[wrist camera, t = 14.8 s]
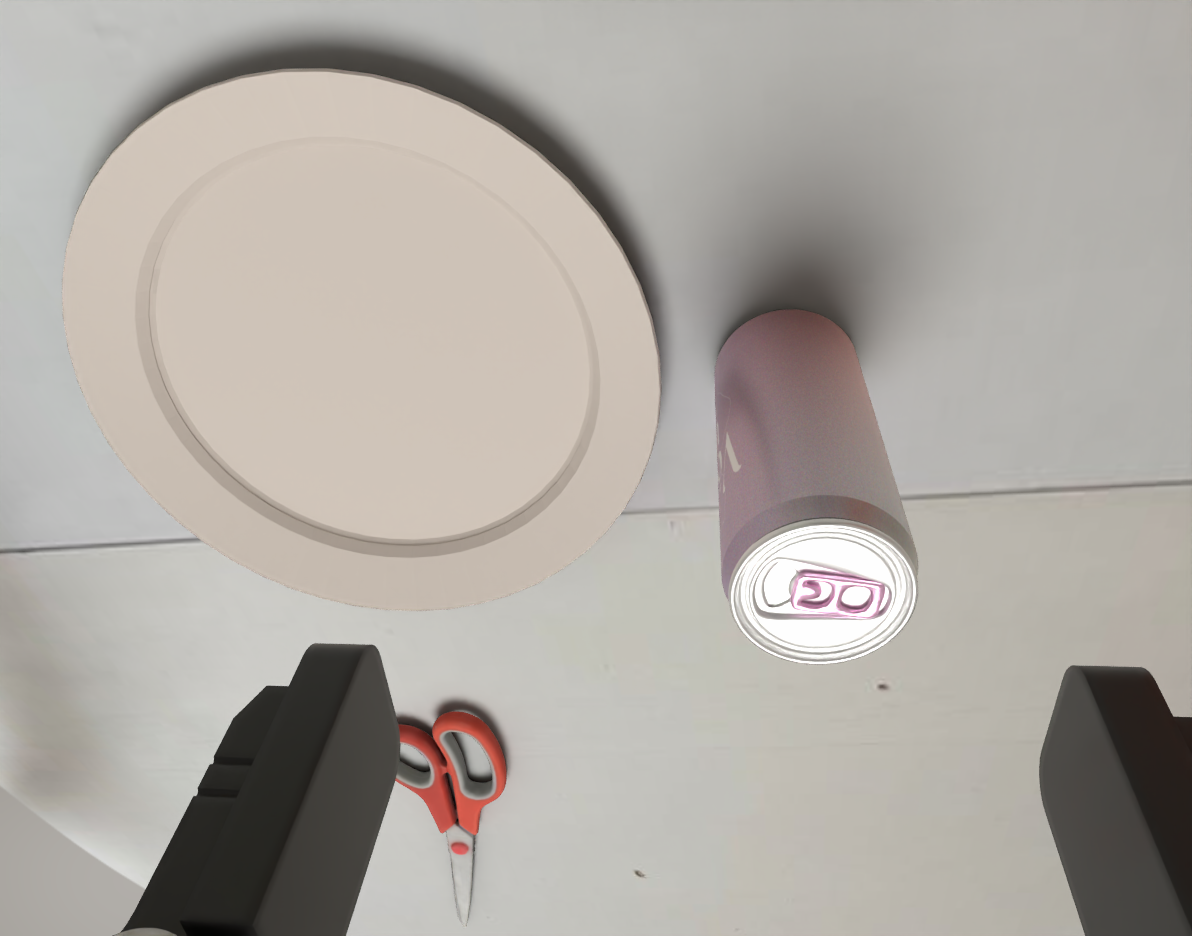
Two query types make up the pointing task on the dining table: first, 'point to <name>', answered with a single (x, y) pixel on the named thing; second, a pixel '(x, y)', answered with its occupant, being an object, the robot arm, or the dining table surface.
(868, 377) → the dining table surface
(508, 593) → the plate
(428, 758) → the scissors
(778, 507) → the beverage can
